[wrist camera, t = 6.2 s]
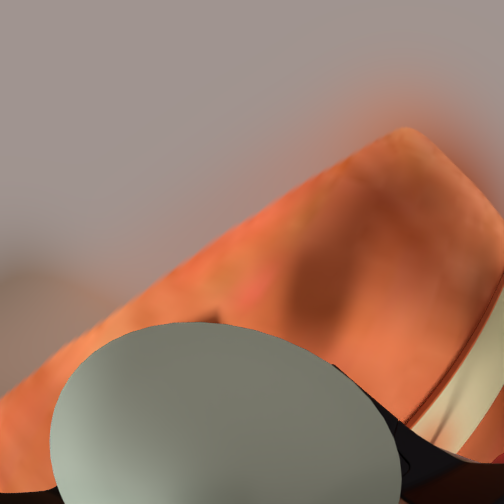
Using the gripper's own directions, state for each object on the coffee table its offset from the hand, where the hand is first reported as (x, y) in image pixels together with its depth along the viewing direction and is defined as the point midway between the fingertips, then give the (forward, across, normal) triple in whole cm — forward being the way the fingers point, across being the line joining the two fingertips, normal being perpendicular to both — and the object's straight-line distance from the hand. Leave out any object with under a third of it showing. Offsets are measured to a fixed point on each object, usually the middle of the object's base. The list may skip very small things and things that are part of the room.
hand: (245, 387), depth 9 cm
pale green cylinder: (+4, 0, +6) cm, 7 cm away
